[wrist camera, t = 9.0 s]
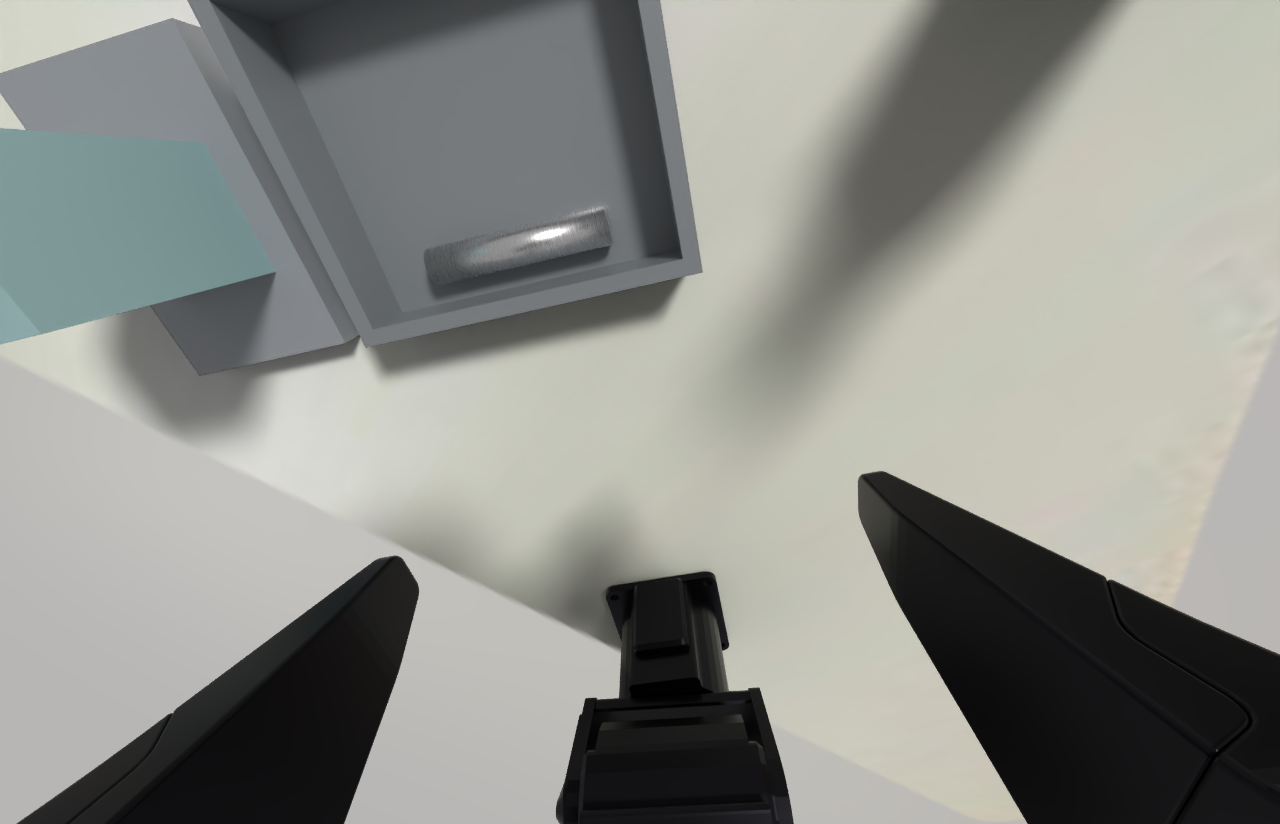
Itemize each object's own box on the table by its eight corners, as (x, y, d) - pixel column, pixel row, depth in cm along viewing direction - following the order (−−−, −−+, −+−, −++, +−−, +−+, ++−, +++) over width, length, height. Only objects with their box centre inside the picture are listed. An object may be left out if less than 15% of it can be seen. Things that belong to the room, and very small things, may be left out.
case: (694, 258, 19) (702, 272, 16) (402, 324, 20) (366, 347, 18) (627, -154, 14) (623, -232, 11) (238, -27, 15) (151, -69, 12)
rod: (614, 245, 18) (611, 244, 17) (448, 283, 19) (432, 286, 18) (606, 206, 18) (602, 203, 16) (435, 248, 18) (419, 248, 17)
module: (275, 271, 18) (0, 345, 10) (176, 296, 19) (-160, 384, 11) (203, 142, 16) (-205, 114, 8) (93, 173, 17) (-389, 174, 9)
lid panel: (360, 334, 21) (345, 343, 20) (222, 365, 21) (199, 376, 20) (203, 28, 16) (172, 17, 15) (31, 83, 17) (-12, 77, 15)
